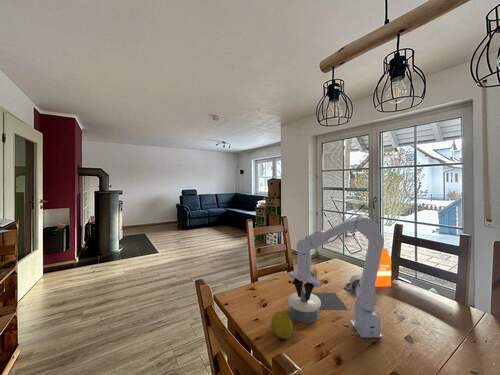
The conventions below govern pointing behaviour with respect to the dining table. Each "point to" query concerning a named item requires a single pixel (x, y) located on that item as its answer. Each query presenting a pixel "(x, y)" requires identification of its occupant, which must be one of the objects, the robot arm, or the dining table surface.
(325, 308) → the rubber mat
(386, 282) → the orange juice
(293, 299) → the white lid
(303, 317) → the blue pet bowl
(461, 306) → the dining table surface
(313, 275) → the architectural model
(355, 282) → the ceramic mug
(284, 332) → the lemon
